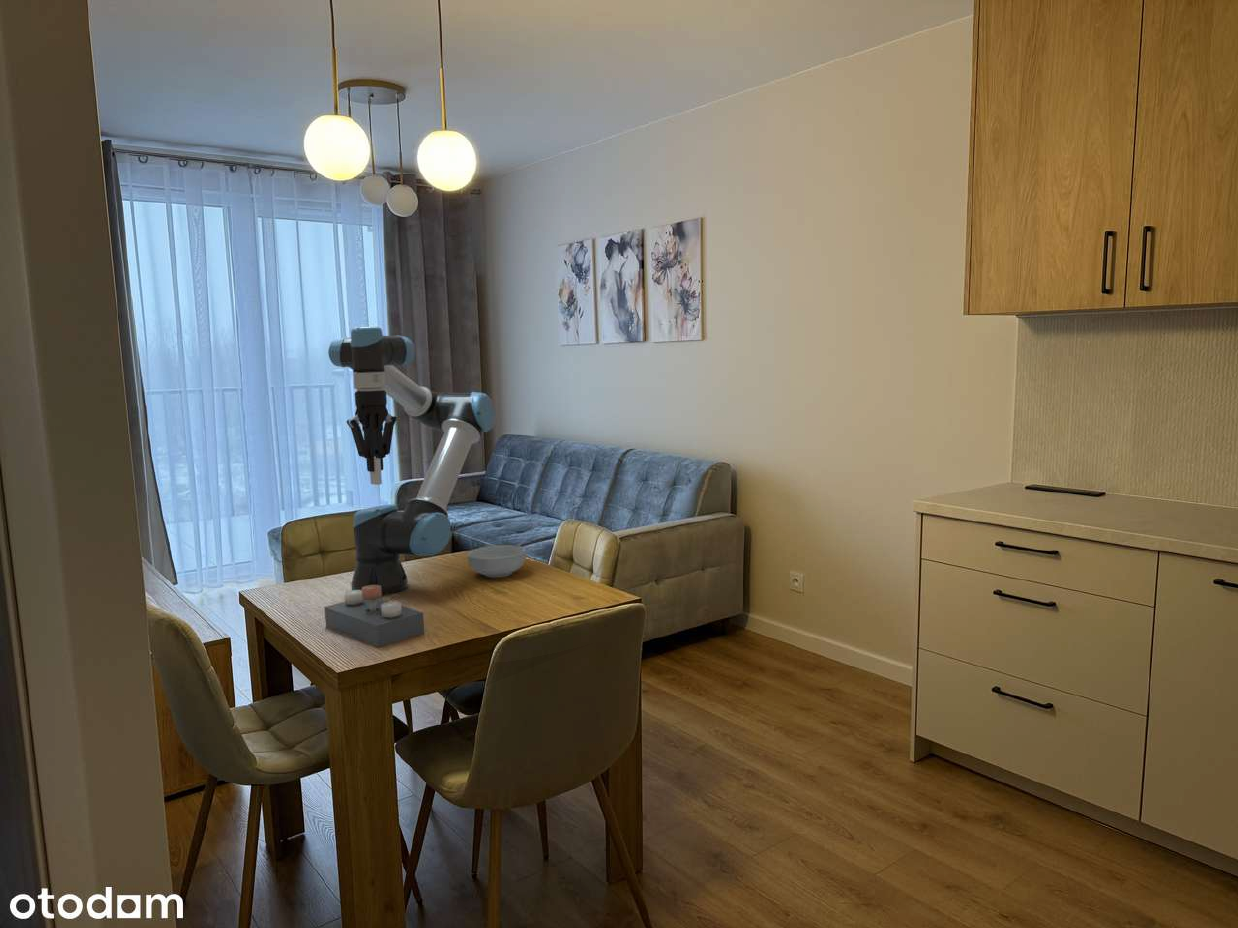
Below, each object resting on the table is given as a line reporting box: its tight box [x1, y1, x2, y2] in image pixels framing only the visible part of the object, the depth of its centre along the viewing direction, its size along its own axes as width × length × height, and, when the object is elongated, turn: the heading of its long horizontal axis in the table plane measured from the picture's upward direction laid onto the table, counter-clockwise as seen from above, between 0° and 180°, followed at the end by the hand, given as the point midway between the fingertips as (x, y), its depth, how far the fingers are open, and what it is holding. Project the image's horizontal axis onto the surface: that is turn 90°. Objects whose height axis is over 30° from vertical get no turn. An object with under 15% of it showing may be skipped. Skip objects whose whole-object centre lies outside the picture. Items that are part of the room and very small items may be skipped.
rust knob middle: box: [362, 585, 383, 612], centre depth 193 cm, size 4×4×7 cm
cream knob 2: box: [381, 600, 402, 618], centre depth 188 cm, size 4×4×7 cm
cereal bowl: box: [467, 544, 527, 579], centre depth 241 cm, size 17×17×7 cm
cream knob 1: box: [344, 589, 364, 606], centre depth 198 cm, size 4×4×7 cm
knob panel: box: [323, 598, 425, 648], centre depth 193 cm, size 12×23×5 cm, turn 48°
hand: (376, 483), depth 206 cm, fingers closed
